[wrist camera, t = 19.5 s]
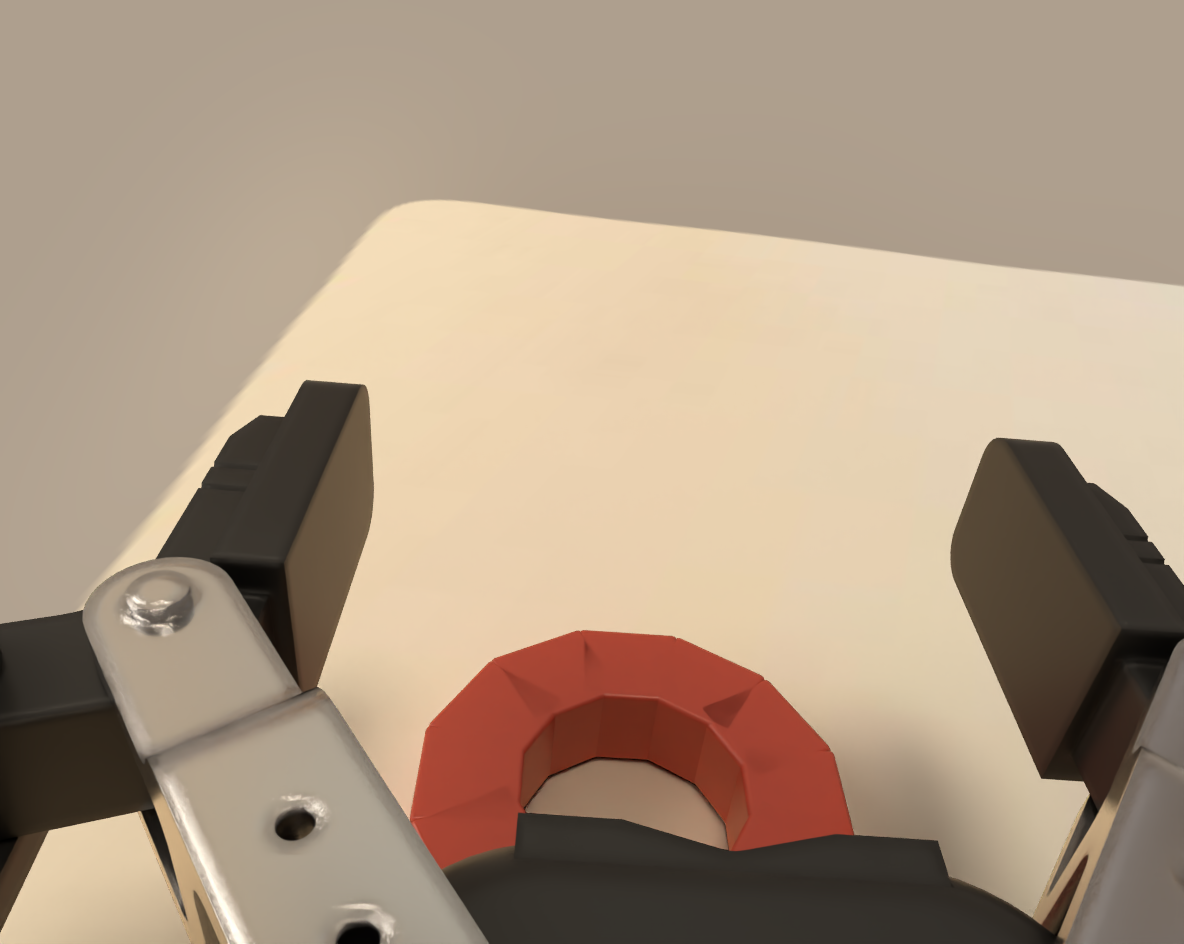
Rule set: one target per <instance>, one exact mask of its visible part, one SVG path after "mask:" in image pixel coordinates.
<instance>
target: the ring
mask: <svg viewBox="0 0 1184 944" xmlns="http://www.w3.org/2000/svg"><path fill="white" fill-rule="evenodd" d="M593 757H613V758H629V759H646V760H650V761H652V762H654V763H655V764H657V765H659V766H661V767H663V768H665V769H667V770H669V771H671V772H673V773H675V774H677V775H679V776H681V777H683V778H685V779H686V780H688V781H690V782H692V783H694V784H696V785H697V787H698V788H699V789H700V791H701V792H702V793H703V795H704V796H705V797H706V799H707V800H708V801H709V803H710V804H711V805H712V806H713V808H714V809H715V810H716V812H717V813H718V814H719V816H720V817H721V818H722V820H723V821H724V822H725V823H726V831H727V839H728V846H729V851H741V850H748V849H754V848H759V847H765V846H770V845H776V844H782V843H787V842H793V841H798V840H804V839H810V838H815V837H821V836H826V835H832V834H845V835H854V832H853V828H852V824H851V820H850V816H849V812H848V808H847V804H846V800H845V796H844V792H843V788H842V784H841V780H840V776H839V772H838V768H837V764H836V760H835V757H834V754H833V752H831V751H830V748H829V746H828V745H827V744H826V743H825V742H824V741H823V739H822V738H821V737H820V736H819V735H818V734H817V733H816V732H815V731H814V730H813V729H812V728H811V726H810V725H809V724H808V723H807V722H806V721H805V720H804V719H803V718H802V717H801V716H800V715H799V713H798V712H797V711H796V710H795V709H794V708H793V707H792V706H791V705H790V704H789V703H788V702H787V700H786V699H785V698H784V697H783V696H782V695H781V694H780V693H779V692H778V691H777V690H776V688H775V687H774V686H773V685H772V684H771V683H770V682H769V681H767V680H764V677H763V676H761V675H759V674H757V673H755V672H753V671H750V670H748V669H746V668H744V667H742V666H740V665H737V664H735V663H733V662H731V661H729V660H726V659H724V658H722V657H720V656H718V655H715V654H713V653H711V652H709V651H707V650H705V649H702V648H700V647H698V646H696V645H694V644H691V643H689V642H687V641H685V640H683V639H681V638H677V639H676V638H675V637H673V636H664V635H649V634H634V633H619V632H603V631H588V630H583V631H581V632H580V631H574V632H571V633H568V634H566V635H563V636H560V637H557V638H554V639H551V640H548V641H545V642H542V643H539V644H536V645H533V646H530V647H527V648H524V649H521V650H518V651H515V652H512V653H509V654H506V655H503V656H500V657H497V658H494V659H493V660H492V662H489V663H488V664H487V665H486V666H485V667H484V668H483V669H482V670H481V671H480V672H479V673H478V674H477V675H476V676H475V677H474V678H473V679H472V680H471V681H470V683H469V684H468V685H467V686H466V687H465V688H464V689H463V690H462V691H461V692H460V693H459V694H458V695H457V696H456V697H455V698H454V699H453V700H452V701H451V702H450V703H449V704H448V705H447V706H446V707H445V708H444V709H443V710H442V711H441V712H440V713H439V715H438V716H437V717H436V718H435V719H434V720H433V721H432V722H431V723H430V725H429V727H428V728H427V729H426V732H425V737H424V743H423V748H422V754H421V759H420V765H419V770H418V776H417V781H416V787H415V792H414V798H413V803H412V809H411V814H410V822H411V824H412V825H413V827H414V828H415V830H416V831H417V833H418V835H419V836H420V838H421V839H422V841H423V842H424V844H425V845H426V847H427V848H428V850H429V852H430V853H431V855H432V856H433V858H434V859H435V861H436V862H437V864H438V865H439V867H440V868H441V869H443V868H445V867H447V866H449V865H451V864H454V863H456V862H458V861H461V860H463V859H465V858H467V857H470V856H473V855H476V854H479V853H483V852H486V851H489V850H493V849H497V848H503V847H508V846H514V845H515V839H516V828H517V818H518V813H526V812H525V810H524V806H525V805H526V804H527V803H528V801H529V800H530V799H531V797H532V796H533V795H534V794H535V792H536V791H537V790H538V788H539V787H540V786H541V785H542V783H543V782H544V781H545V780H546V778H547V777H548V776H549V775H552V774H554V773H557V772H559V771H561V770H564V769H566V768H569V767H571V766H574V765H576V764H579V763H581V762H584V761H586V760H588V759H591V758H593Z"/></svg>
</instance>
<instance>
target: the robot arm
mask: <svg viewBox="0 0 1184 944" xmlns="http://www.w3.org/2000/svg"><path fill="white" fill-rule="evenodd" d="M373 498H374V481H373V462H372V444H371V425H370V406H369V396H368V391H367V388H366V386H365V385H361V384H348V383H336V382H324V381H311V380H306V381H304V382H303V384H302V385H301V387H300V389H299V391H298V393H297V395H296V396H295V398H294V400H293V402H292V404H291V406H290V408H289V410H288V411H287V413H286V415H285V417H276V416H263V415H260V416H258V417H257V418H255V419H254V420H253V421H251V422H250V423H248V424H247V425H245V426H244V427H242V428H241V429H240V430H238V431H237V432H235V433H234V434H232V435H231V436H230V437H229V438H228V440H227V442H226V443H225V445H224V447H223V448H222V450H221V452H220V453H219V455H218V457H217V458H216V460H215V462H214V467H211V468H210V470H209V471H208V473H207V475H206V476H205V478H204V480H203V481H202V487H201V488H198V490H197V491H196V493H195V495H194V496H193V498H192V500H191V501H190V503H189V505H188V506H187V508H186V510H185V511H184V513H183V515H182V516H181V518H180V519H179V521H178V523H177V524H176V526H175V528H174V529H173V531H172V533H171V534H170V536H169V538H168V539H167V541H166V543H165V544H164V546H163V548H162V549H161V551H160V553H159V554H158V556H157V558H156V559H154V560H150V561H146V562H142V563H139V564H136V565H133V566H131V567H128V568H126V569H124V570H122V571H120V572H118V573H116V574H114V575H113V576H111V577H110V578H108V579H107V580H105V581H104V582H103V583H102V584H101V585H99V586H98V587H97V588H96V589H95V591H94V592H93V593H92V594H91V595H90V597H89V598H88V600H87V602H86V604H85V607H84V610H81V611H77V612H73V613H68V614H63V615H57V616H51V617H44V618H37V619H31V620H24V621H17V622H10V623H4V624H0V932H1V930H2V928H3V926H4V924H5V922H6V919H7V917H8V915H9V913H10V911H11V909H12V907H13V905H14V903H15V900H16V898H17V896H18V894H19V892H20V890H21V888H22V886H23V884H24V882H25V879H26V877H27V875H28V873H29V871H30V869H31V867H32V865H33V863H34V860H35V858H36V856H37V854H38V852H39V850H40V848H41V846H42V844H43V842H44V839H45V837H46V835H47V833H48V831H49V830H53V829H58V828H62V827H67V826H72V825H77V824H81V823H86V822H91V821H96V820H100V819H105V818H110V817H115V816H119V815H124V814H129V813H134V812H138V814H139V817H140V819H141V822H142V824H143V826H144V829H145V831H146V834H147V836H148V839H149V841H150V844H151V846H152V849H153V851H154V854H155V856H156V858H157V861H158V863H159V866H160V868H161V871H162V873H163V876H164V878H165V881H166V883H167V886H168V888H169V890H170V893H171V895H172V898H173V900H174V903H175V905H176V908H177V910H178V913H179V915H180V918H181V920H182V922H183V925H184V927H185V930H186V932H187V935H188V937H189V940H190V942H191V944H1184V585H1183V584H1182V582H1181V581H1180V580H1179V578H1178V577H1177V575H1176V574H1175V573H1174V571H1173V570H1172V569H1171V567H1170V566H1169V565H1164V560H1165V559H1164V558H1163V556H1162V555H1161V554H1160V552H1159V551H1158V549H1157V548H1156V547H1155V545H1154V544H1153V543H1152V542H1148V536H1147V534H1146V533H1145V532H1144V530H1143V529H1142V527H1141V526H1140V525H1139V523H1138V522H1137V521H1136V519H1135V518H1134V517H1133V515H1132V514H1131V512H1130V511H1129V510H1128V509H1127V508H1126V507H1125V506H1123V505H1122V504H1121V503H1119V502H1118V501H1117V500H1116V499H1114V498H1113V497H1112V496H1110V495H1109V494H1108V493H1106V492H1105V491H1104V490H1102V489H1101V488H1100V487H1098V486H1097V485H1096V484H1094V483H1087V482H1086V481H1085V479H1084V478H1083V477H1082V475H1081V474H1080V472H1079V471H1078V469H1077V468H1076V467H1075V465H1074V464H1073V462H1072V461H1071V459H1070V458H1069V456H1068V455H1067V454H1066V452H1065V451H1064V449H1063V448H1062V447H1061V446H1060V445H1059V444H1057V443H1055V442H1045V441H1033V440H1020V439H1008V438H996V439H993V440H992V441H991V442H990V443H989V444H988V446H987V447H986V449H985V451H984V453H983V456H982V458H981V461H980V464H979V466H978V469H977V472H976V474H975V477H974V480H973V482H972V485H971V488H970V490H969V493H968V496H967V498H966V501H965V504H964V507H963V509H962V512H961V515H960V517H959V520H958V523H957V525H956V528H955V531H954V534H953V538H952V544H951V569H952V574H953V578H954V581H955V583H956V585H957V588H958V590H959V592H960V594H961V597H962V599H963V601H964V604H965V606H966V608H967V610H968V613H969V615H970V617H971V620H972V622H973V624H974V626H975V629H976V631H977V633H978V635H979V638H980V640H981V642H982V645H983V647H984V649H985V651H986V654H987V656H988V658H989V661H990V663H991V665H992V667H993V670H994V672H995V674H996V676H997V679H998V681H999V683H1000V686H1001V688H1002V690H1003V692H1004V695H1005V697H1006V699H1007V702H1008V704H1009V706H1010V708H1011V711H1012V713H1013V715H1014V717H1015V720H1016V722H1017V724H1018V727H1019V729H1020V731H1021V733H1022V736H1023V738H1024V740H1025V743H1026V745H1027V747H1028V749H1029V752H1030V754H1031V756H1032V758H1033V761H1034V763H1035V765H1036V768H1037V770H1038V772H1039V774H1040V777H1041V779H1055V780H1069V781H1084V783H1085V785H1086V787H1087V789H1088V791H1089V793H1090V794H1089V795H1088V797H1087V799H1086V800H1085V802H1084V804H1083V805H1082V807H1081V809H1080V811H1079V812H1078V814H1077V817H1076V819H1075V821H1074V823H1073V826H1072V828H1071V830H1070V833H1069V835H1068V837H1067V839H1066V842H1065V844H1064V846H1063V849H1062V851H1061V853H1060V855H1059V858H1058V860H1057V862H1056V865H1055V867H1054V869H1053V871H1052V874H1051V876H1050V878H1049V880H1048V883H1047V885H1046V887H1045V890H1044V892H1043V894H1042V896H1041V899H1040V901H1039V903H1038V906H1037V908H1036V910H1035V912H1034V915H1033V917H1032V918H1031V917H1030V916H1028V915H1027V914H1025V913H1024V912H1022V911H1020V910H1019V909H1017V908H1016V907H1014V906H1013V905H1011V904H1009V903H1008V902H1006V901H1004V900H1002V899H1000V898H998V897H996V896H994V895H992V894H990V893H988V892H986V891H985V890H982V889H980V888H977V887H975V886H973V885H970V884H968V883H965V882H963V881H960V880H958V879H955V878H952V877H949V876H948V873H947V869H946V866H945V863H944V860H943V857H942V853H941V850H940V847H939V844H938V841H934V840H919V839H904V838H890V837H875V836H860V835H845V834H832V835H826V836H821V837H815V838H810V839H804V840H798V841H793V842H787V843H782V844H776V845H770V846H765V847H759V848H754V849H748V850H741V851H728V850H724V849H719V848H716V847H713V846H709V845H706V844H703V843H699V842H696V841H693V840H689V839H686V838H682V837H679V836H676V835H672V834H669V833H666V832H662V831H659V830H656V829H652V828H649V827H646V826H642V825H639V824H635V823H632V822H629V821H625V820H622V819H607V818H592V817H577V816H562V815H547V814H532V813H518V818H517V828H516V839H515V845H514V846H508V847H503V848H497V849H493V850H489V851H486V852H483V853H479V854H476V855H473V856H470V857H467V858H465V859H463V860H461V861H458V862H456V863H454V864H451V865H449V866H447V867H445V868H443V869H441V868H440V867H439V865H438V864H437V862H436V861H435V859H434V858H433V856H432V855H431V853H430V852H429V850H428V848H427V847H426V845H425V844H424V842H423V841H422V839H421V838H420V836H419V835H418V833H417V831H416V830H415V828H414V827H413V825H412V824H411V822H410V821H409V819H408V818H407V816H406V814H405V813H404V811H403V810H402V808H401V807H400V805H399V804H398V802H397V801H396V799H395V797H394V796H393V794H392V793H391V791H390V790H389V788H388V787H387V785H386V784H385V782H384V780H383V779H382V777H381V776H380V774H379V773H378V771H377V770H376V768H375V767H374V765H373V764H372V762H371V760H370V759H369V757H368V756H367V754H366V753H365V751H364V750H363V748H362V747H361V745H360V743H359V742H358V740H357V739H356V737H355V736H354V734H353V733H352V731H351V730H350V728H349V726H348V725H347V723H346V722H345V720H344V719H343V717H342V716H341V714H340V713H339V711H338V709H337V708H336V706H335V705H334V703H333V702H332V701H331V699H330V698H329V697H328V695H327V694H326V693H325V692H324V691H323V690H322V689H320V688H318V687H317V685H318V682H319V679H320V676H321V673H322V670H323V667H324V664H325V661H326V658H327V655H328V652H329V649H330V646H331V643H332V640H333V637H334V634H335V631H336V628H337V625H338V622H339V619H340V616H341V613H342V610H343V607H344V604H345V601H346V598H347V595H348V592H349V589H350V586H351V583H352V580H353V577H354V574H355V571H356V568H357V565H358V562H359V559H360V556H361V553H362V550H363V547H364V544H365V541H366V538H367V535H368V532H369V528H370V523H371V518H372V510H373Z"/></svg>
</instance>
